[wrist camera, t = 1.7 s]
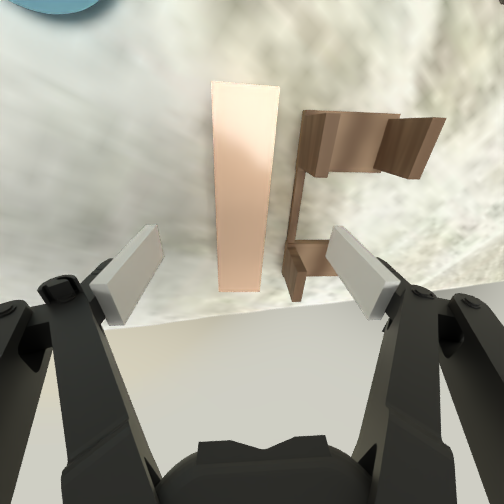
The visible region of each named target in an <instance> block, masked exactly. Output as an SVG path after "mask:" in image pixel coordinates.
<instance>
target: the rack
mask: <svg viewBox="0 0 504 504" xmlns="http://www.w3.org/2000/svg"><path fill="white" fill-rule="evenodd" d="M400 115H401V114H387V113H364V112H341V111H317V110H304V111H303V115H302V123H301V130H300V138H299V145H298V153H297V160H296V168H295V169H296V174H295V181H294V189H293V196H292V204H291V211H290V218H289V226H288V233H287V240H286V243H285V251H284V258H283V266H282V275H283V277H284V278H285V281H286V284H287V287H288V291H289V294H290V297H291V300H292V302H301V299H302V294H303V289H304V285H305V280H306V276H338V275H337V273H336V272H335V270H334V269H333V267H332V266H331V264H330V263H329V261H328V260H327V258H326V252H327V248H328V244H329V241H330V240H295V236H296V230H297V223H298V217H299V211H300V204H301V198H302V192H303V185H304V179H305V173H306V172H307V173H309V174H310V175H312V176H313V177H319V178H327V177H328V172H370V173H381V171H383V172H387V173H390V174H393V175H396V176H399V177H402V178H406V179H420V177H421V175H422V173H423V170H424V168H425V166H426V164H427V161H428V159H429V157H430V155H431V152H432V150H433V148H434V145H435V143H436V141H437V139H438V136H439V134H440V132H441V129H442V127H443V125H444V123H445V120H446V118H436V117H430V118H405V119H399V118H400Z"/></svg>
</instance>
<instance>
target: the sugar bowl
mask: <svg viewBox="0 0 504 504" xmlns="http://www.w3.org/2000/svg"><path fill="white" fill-rule="evenodd" d="M9 1H11V2H13V3H14V4H17V5H19V6H22V7H24V8H27V9H29V10H33V11H37V12H41V13H47V14H69V13H75V12H79V11H82V10H85V9H87V8H88V7H90V6H92V5H94V4H95V3H96V2H98V1H99V0H9Z"/></svg>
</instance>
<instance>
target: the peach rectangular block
mask: <svg viewBox="0 0 504 504" xmlns="http://www.w3.org/2000/svg"><path fill="white" fill-rule="evenodd" d="M279 93H280V87H278V86H266V85H254V84H242V83H230V82H218V81H211V95H212V121H213V148H214V175H215V202H216V229H217V256H218V283H219V292H260V283H261V273H262V263H263V253H264V243H265V233H266V223H267V213H268V203H269V193H270V183H271V173H272V163H273V153H274V143H275V133H276V123H277V113H278V103H279Z"/></svg>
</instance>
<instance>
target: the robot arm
mask: <svg viewBox="0 0 504 504" xmlns="http://www.w3.org/2000/svg"><path fill="white" fill-rule="evenodd" d="M163 258H164V254H163V249H162V245H161V240H160V236H159V231H158V227H157V225H145V226H144V227H143V228H142V229H141V231H140V232H139V233H138V234H137V235H136V236H135V237H134V238H133V239H132V240H131V241H130V242H129V243H128V244H127V245H126V246H125V247H124V248H123V249H122V250H121V251H120V252H119V254H118V255H117V256H116V257H115V258H111V259H108V260H106V261H104V262H103V263H101V264H100V265H99V266H98V267H97V268H96V269H95V270H94V271H93V272H92V273H91V275H89V276H88V277H87V278H86V279H85V280H84V281H83V282H82V283H81V284H80V283H79V281H78V279H77V278H76V277H75V276H74V275H62V276H58V277H55V278H52V279H50V280H48V281H46V282H44V283H43V284H42V285H41V286H39V288H38V290H37V291H38V293H39V294H40V296H41V297H42V299H43V300H44V302H45V303H46V304H43V305H38V306H33V307H29V306H28V304H27V303H26V302H25V301H24V300H14V301H9V302H6V303H2V304H0V504H11V500H12V497H13V493H14V489H15V486H16V482H17V478H18V475H19V471H20V467H21V464H22V460H23V456H24V452H25V449H26V445H27V442H28V438H29V434H30V430H31V427H32V423H33V420H34V416H35V412H36V409H37V404H38V401H39V398H40V394H41V390H42V386H43V383H44V379H45V376H46V372H47V368H48V364H49V361H50V357H51V354H52V350H53V354H54V361H55V368H56V376H57V383H58V389H59V398H60V405H61V412H62V420H63V427H64V434H65V442H66V448H67V457H68V464H67V466H66V467H65V469H64V470H63V471H62V476H61V489H62V499H63V504H457V497H456V483H455V481H456V480H455V466H454V458H453V453H452V451H451V449H450V447H449V446H447V445H446V444H444V443H443V441H442V438H441V417H440V381H439V380H440V379H439V364H440V366H441V369H442V372H443V375H444V377H445V380H446V383H447V386H448V388H449V391H450V394H451V397H452V400H453V403H454V405H455V408H456V411H457V414H458V416H459V419H460V422H461V425H462V427H463V430H464V433H465V436H466V439H467V441H468V444H469V447H470V450H471V452H472V455H473V458H474V461H475V463H476V466H477V469H478V472H479V475H480V478H481V480H482V483H483V486H484V489H485V492H486V494H487V497H488V500H489V503H490V504H504V326H503V325H502V324H501V322H500V321H499V320H498V318H497V317H496V316H495V314H494V313H493V312H492V310H491V309H490V308H489V307H488V306H487V305H486V304H485V303H484V302H482V301H481V300H480V299H478V298H475V297H473V296H470V295H467V294H461V293H458V294H455V295H454V296H453V297H452V299H451V300H447V299H442V298H437V297H436V295H434V293H433V292H431V291H430V290H428V289H426V288H424V287H421V286H418V285H411V284H410V283H408V282H407V281H406V280H405V279H404V278H403V277H402V276H401V275H400V274H399V273H398V272H396V271H395V270H394V269H393V268H391V266H390V265H389V264H388V263H387V262H385V261H384V260H382V259H380V258H378V257H375V256H374V255H373V254H372V253H371V252H370V251H369V250H367V249H366V248H365V247H364V246H363V245H362V244H361V243H360V242H359V241H358V240H357V239H356V238H355V237H354V236H353V235H352V234H351V233H350V232H349V231H348V230H347V229H346V228H344V227H343V226H333V229H332V233H331V237H330V241H329V244H328V248H327V252H326V258H327V260H328V261H329V263H330V264H331V266H332V267H333V269H334V270H335V272H336V273H337V275H338V276H339V278H340V279H341V281H342V282H343V284H344V285H345V287H346V288H347V290H348V291H349V293H350V294H351V296H352V297H353V299H354V300H355V302H356V303H357V304H358V306H359V308H360V309H361V311H362V312H363V314H364V315H365V317H366V318H367V320H381V319H382V317H383V315H384V313H385V312H386V314H387V315H388V316H389V317H390V318H389V319H388V321H387V323H386V325H385V327H384V329H383V330H382V332H384V336H383V340H382V344H381V348H380V353H379V357H378V361H377V365H376V369H375V373H374V377H373V381H372V386H371V389H370V394H369V398H368V402H367V406H366V410H365V414H364V418H363V422H362V426H361V430H360V435H359V438H358V441H357V444H356V446H355V449H354V451H353V454H352V456H351V457H350V456H349V455H347V454H346V453H344V452H342V451H341V450H339V449H337V448H334V447H332V446H329V445H328V444H327V440H326V437H325V435H317V436H299V437H293V438H291V439H289V440H286V441H284V442H282V443H279V444H277V445H275V446H272V447H270V448H268V449H258V448H255V447H252V446H248V445H245V444H242V443H238V442H235V441H231V440H227V441H209V442H199V444H198V452H196V453H193V454H191V455H189V456H188V457H186V458H184V459H183V460H181V461H180V462H179V463H178V464H176V465H175V466H174V467H173V468H172V469H171V470H170V471H169V472H168V473H167V474H166V475H165V476H164V477H163V478H162V476H161V474H160V471H159V469H158V467H157V464H156V462H155V460H154V458H153V456H152V453H151V451H150V449H149V446H148V444H147V441H146V438H145V436H144V433H143V431H142V428H141V426H140V423H139V420H138V418H137V415H136V413H135V410H134V408H133V405H132V402H131V400H130V397H129V395H128V392H127V389H126V387H125V384H124V382H123V379H122V377H121V374H120V371H119V369H118V366H117V364H116V361H115V359H114V356H113V353H112V351H111V348H110V346H109V343H108V340H107V338H106V335H105V333H104V330H103V328H102V326H101V323H102V322H103V320H104V319H105V318H106V320H107V322H108V324H109V326H116V325H125V323H126V322H127V320H128V318H129V317H130V315H131V313H132V311H133V310H134V308H135V306H136V304H137V303H138V301H139V299H140V298H141V296H142V294H143V292H144V291H145V289H146V287H147V286H148V284H149V282H150V280H151V279H152V277H153V275H154V273H155V272H156V270H157V268H158V267H159V265H160V263H161V261H162V260H163Z"/></svg>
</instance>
